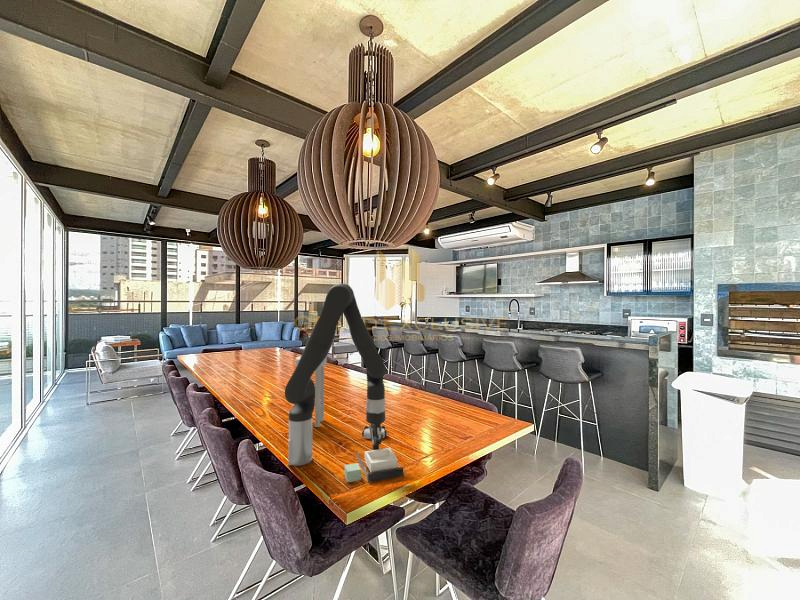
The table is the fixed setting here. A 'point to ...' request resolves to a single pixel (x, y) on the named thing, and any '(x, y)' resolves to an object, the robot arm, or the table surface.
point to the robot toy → (367, 432)
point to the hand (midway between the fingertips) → (375, 453)
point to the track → (381, 473)
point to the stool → (318, 391)
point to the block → (352, 472)
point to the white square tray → (380, 459)
